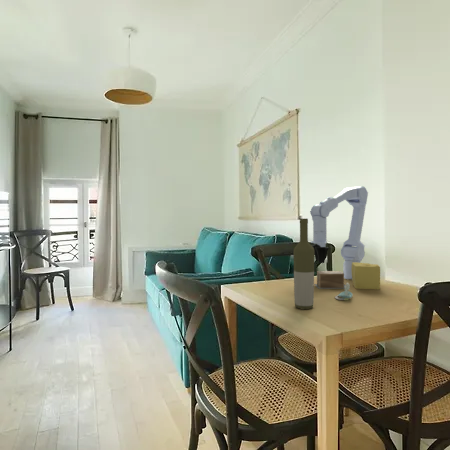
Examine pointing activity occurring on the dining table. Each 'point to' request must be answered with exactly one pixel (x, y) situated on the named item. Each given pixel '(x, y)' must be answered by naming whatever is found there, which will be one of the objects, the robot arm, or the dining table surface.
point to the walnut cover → (330, 279)
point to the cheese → (365, 275)
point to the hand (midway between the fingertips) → (319, 261)
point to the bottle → (304, 269)
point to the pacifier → (345, 293)
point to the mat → (330, 288)
